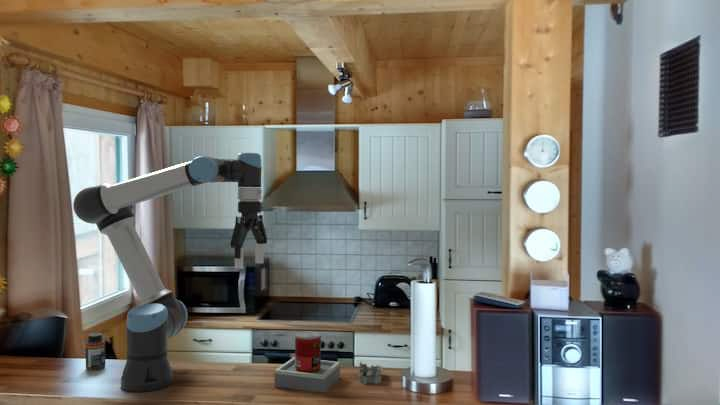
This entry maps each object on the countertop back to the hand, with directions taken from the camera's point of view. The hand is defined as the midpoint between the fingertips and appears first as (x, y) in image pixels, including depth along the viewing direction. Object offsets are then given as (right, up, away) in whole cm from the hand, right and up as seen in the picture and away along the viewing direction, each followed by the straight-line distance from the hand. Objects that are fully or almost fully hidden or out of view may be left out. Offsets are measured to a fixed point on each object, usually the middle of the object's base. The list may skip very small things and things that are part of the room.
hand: (249, 266), depth 185 cm
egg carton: (+39, -36, -5) cm, 53 cm away
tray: (+20, -35, -9) cm, 41 cm away
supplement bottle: (-52, -35, +4) cm, 62 cm away
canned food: (+20, -31, -9) cm, 38 cm away
